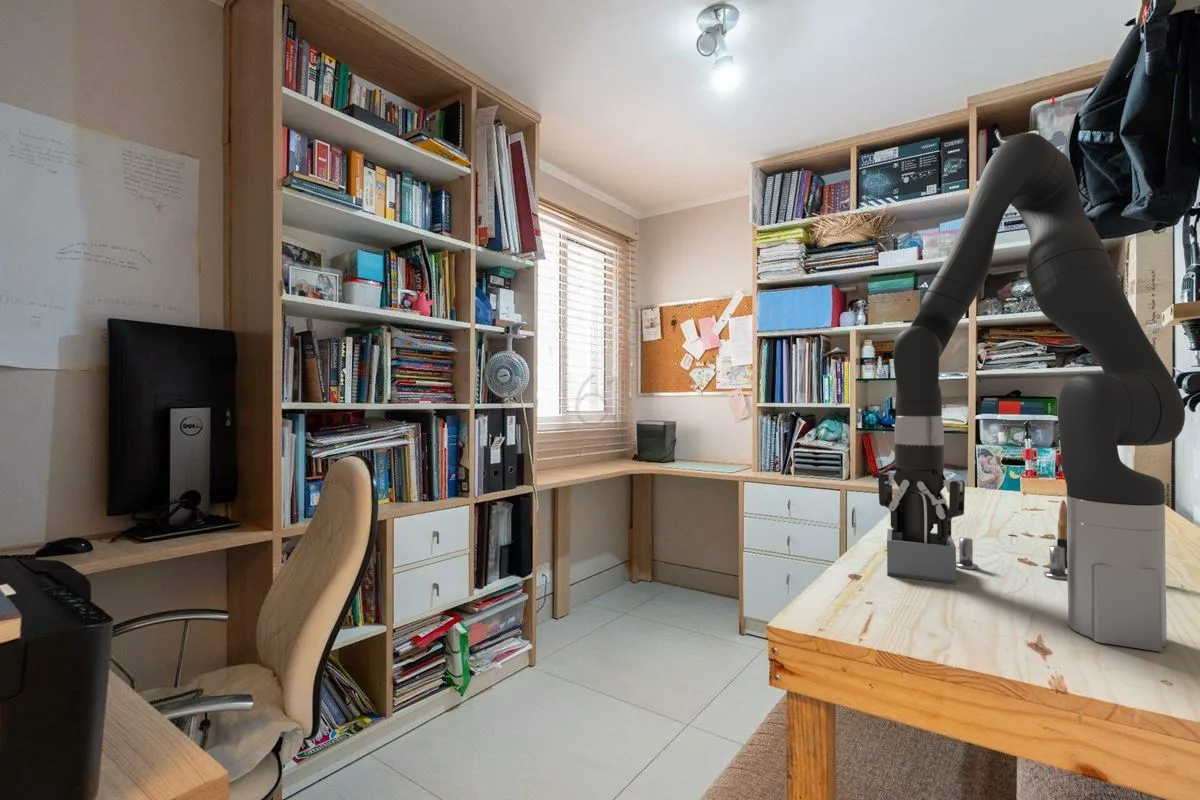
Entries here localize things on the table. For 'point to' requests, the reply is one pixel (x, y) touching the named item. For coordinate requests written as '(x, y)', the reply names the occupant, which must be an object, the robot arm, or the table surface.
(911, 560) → the bin
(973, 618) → the table surface
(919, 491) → the robot arm
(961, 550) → the metal knobs
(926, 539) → the battery charger
